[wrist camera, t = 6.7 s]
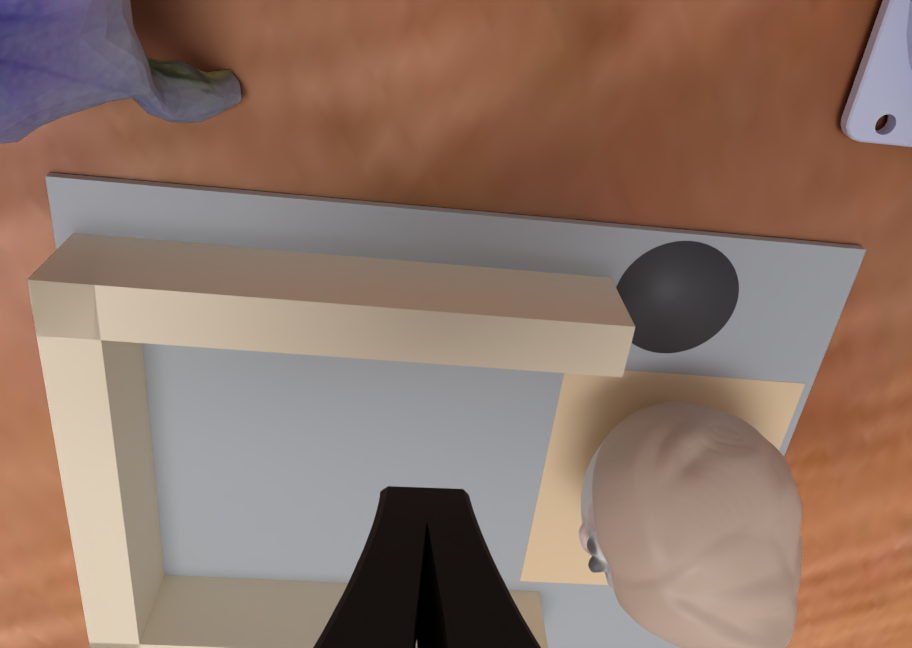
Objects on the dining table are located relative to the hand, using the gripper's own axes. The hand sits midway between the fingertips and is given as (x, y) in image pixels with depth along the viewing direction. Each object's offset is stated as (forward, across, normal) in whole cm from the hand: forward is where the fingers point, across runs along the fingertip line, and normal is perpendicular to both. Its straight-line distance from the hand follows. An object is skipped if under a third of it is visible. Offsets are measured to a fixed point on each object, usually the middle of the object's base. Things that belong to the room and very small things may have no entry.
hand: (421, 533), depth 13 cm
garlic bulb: (+10, -8, +6) cm, 14 cm away
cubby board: (+10, -1, +7) cm, 12 cm away
